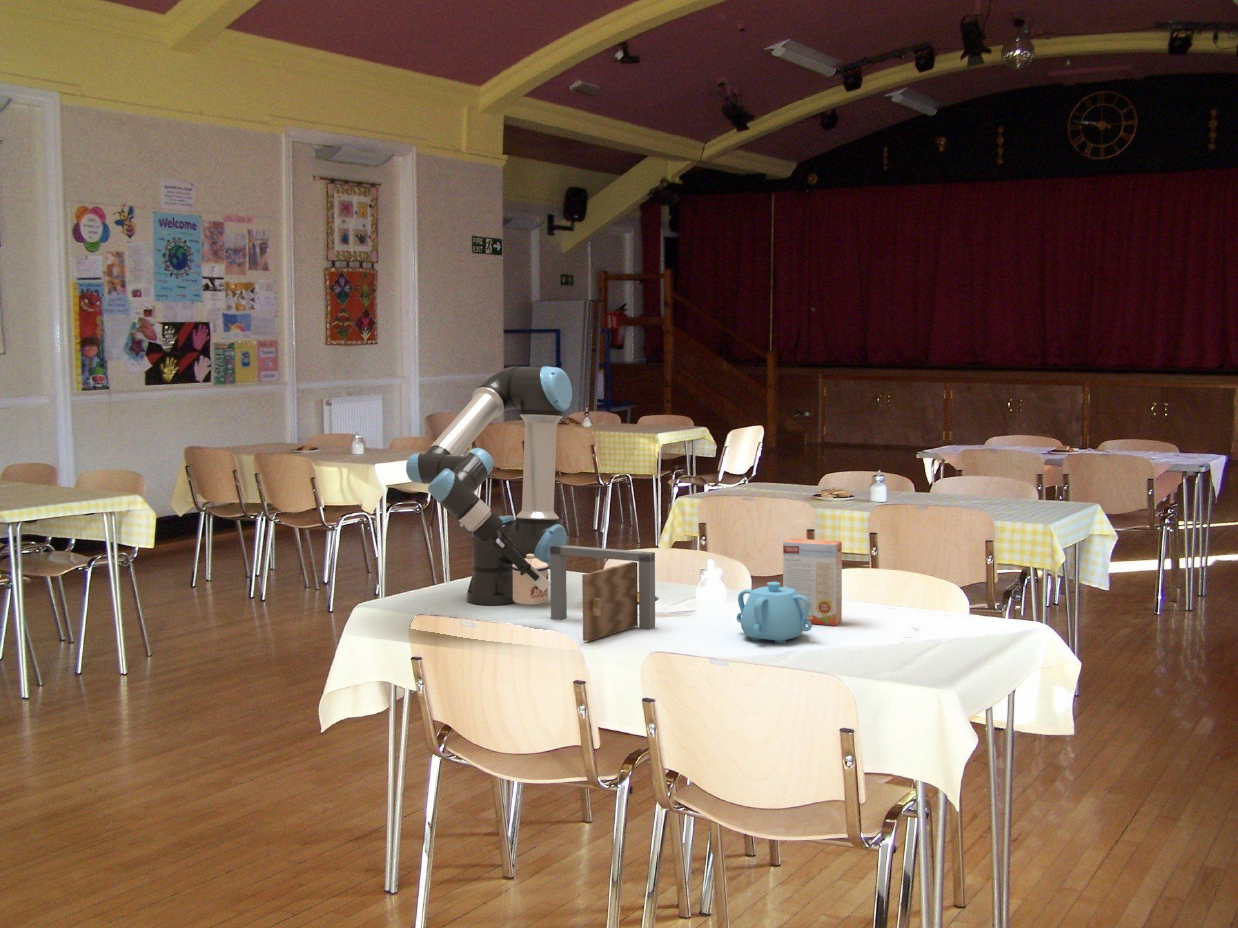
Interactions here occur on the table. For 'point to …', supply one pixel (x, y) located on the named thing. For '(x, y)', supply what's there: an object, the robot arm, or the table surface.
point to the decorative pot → (773, 613)
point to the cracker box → (815, 577)
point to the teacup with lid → (529, 583)
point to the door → (609, 600)
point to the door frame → (644, 558)
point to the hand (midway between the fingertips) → (545, 583)
